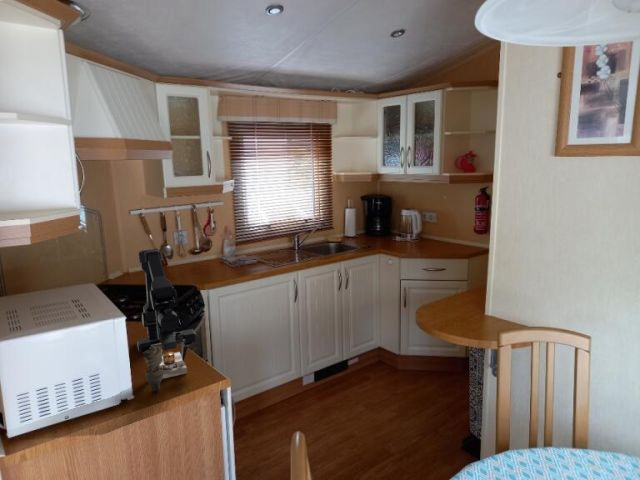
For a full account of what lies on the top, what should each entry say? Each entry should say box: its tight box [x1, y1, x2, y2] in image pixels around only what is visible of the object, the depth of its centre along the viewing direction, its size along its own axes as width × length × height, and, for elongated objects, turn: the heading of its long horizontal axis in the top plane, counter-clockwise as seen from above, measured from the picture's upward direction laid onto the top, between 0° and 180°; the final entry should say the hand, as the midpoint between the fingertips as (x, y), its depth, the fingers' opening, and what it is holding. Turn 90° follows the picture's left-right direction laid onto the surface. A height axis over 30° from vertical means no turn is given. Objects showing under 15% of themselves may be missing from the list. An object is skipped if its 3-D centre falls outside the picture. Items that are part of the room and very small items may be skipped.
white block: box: [160, 351, 188, 380], centre depth 159 cm, size 14×10×2 cm
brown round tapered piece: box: [162, 351, 176, 370], centre depth 156 cm, size 4×4×6 cm
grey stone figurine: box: [142, 345, 164, 392], centre depth 142 cm, size 6×6×15 cm
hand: (169, 363), depth 156 cm, fingers open, 9 cm apart
